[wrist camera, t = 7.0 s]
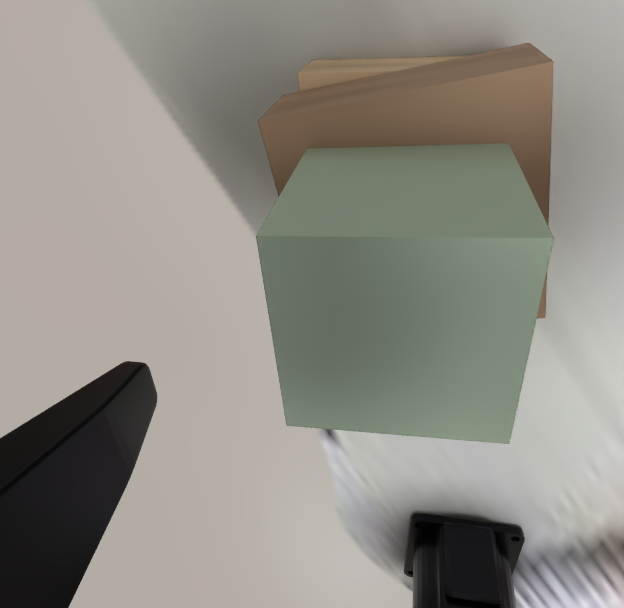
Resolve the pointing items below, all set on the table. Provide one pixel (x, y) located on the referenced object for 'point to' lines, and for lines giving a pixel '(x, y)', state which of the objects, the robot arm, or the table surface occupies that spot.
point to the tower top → (427, 114)
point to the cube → (405, 289)
